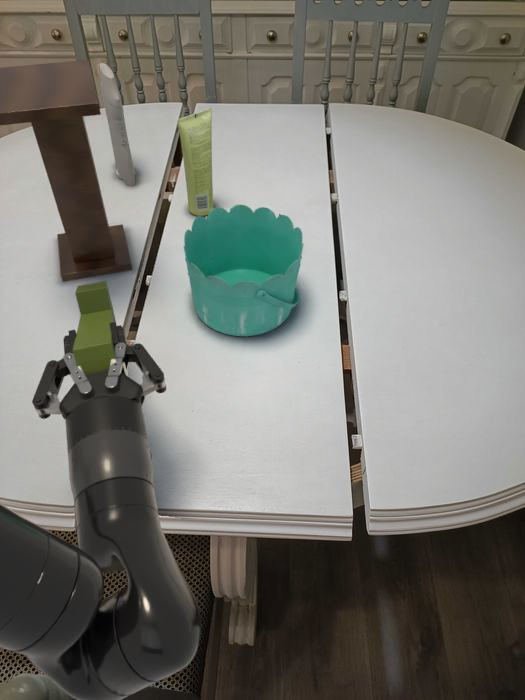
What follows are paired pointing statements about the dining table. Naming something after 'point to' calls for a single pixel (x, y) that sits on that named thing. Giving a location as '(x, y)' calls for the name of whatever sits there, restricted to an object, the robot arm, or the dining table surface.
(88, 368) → the green l-shaped block
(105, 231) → the brown wooden podium
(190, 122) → the tube
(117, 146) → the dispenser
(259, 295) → the bucket
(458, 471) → the dining table surface
